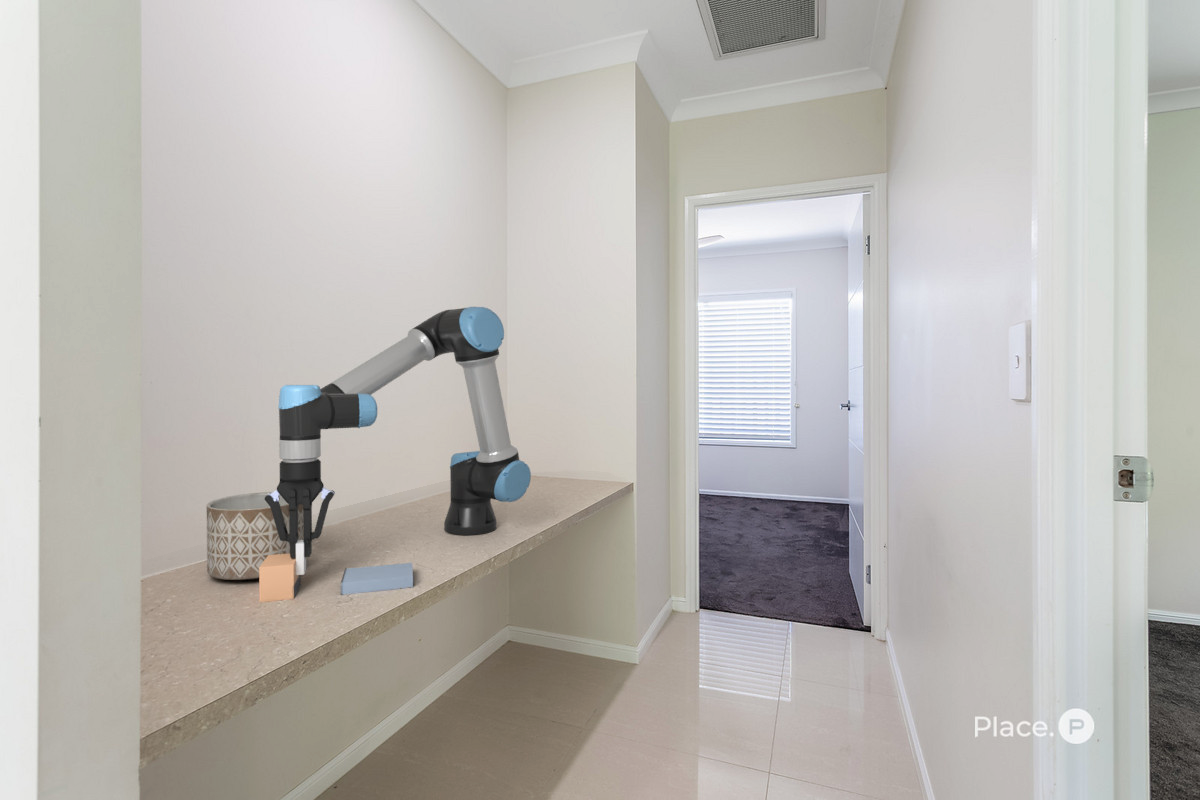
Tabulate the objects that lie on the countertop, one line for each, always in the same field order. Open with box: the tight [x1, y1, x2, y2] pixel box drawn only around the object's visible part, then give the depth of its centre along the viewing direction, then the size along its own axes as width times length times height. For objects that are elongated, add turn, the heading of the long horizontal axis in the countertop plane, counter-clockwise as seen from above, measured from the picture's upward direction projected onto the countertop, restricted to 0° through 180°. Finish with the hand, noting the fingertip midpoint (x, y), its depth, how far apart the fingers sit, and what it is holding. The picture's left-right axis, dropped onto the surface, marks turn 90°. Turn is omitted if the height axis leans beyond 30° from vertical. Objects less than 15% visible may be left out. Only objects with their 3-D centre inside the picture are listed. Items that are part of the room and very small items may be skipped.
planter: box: [206, 491, 308, 581], centre depth 128 cm, size 19×19×16 cm
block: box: [258, 553, 302, 603], centre depth 116 cm, size 6×8×7 cm
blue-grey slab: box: [340, 562, 414, 596], centre depth 122 cm, size 14×9×3 cm, turn 109°
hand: (301, 572), depth 117 cm, fingers closed
